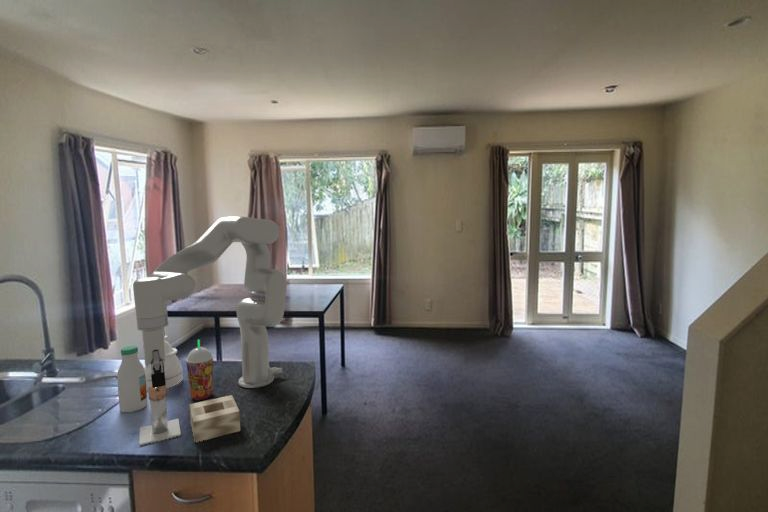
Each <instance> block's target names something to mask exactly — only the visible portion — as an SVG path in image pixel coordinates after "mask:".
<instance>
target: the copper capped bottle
mask: <svg viewBox="0 0 768 512" xmlns="http://www.w3.org/2000/svg"><path fill="white" fill-rule="evenodd" d="M147 392H148V393H147V395H148V400H149V408H150V421H151V424H150V425H152V433H153V434H161V433H164V432H166V431H167V430H168V421H169V420H168V411H167V410H168V409H167V408H168V406H167V389H166V385H165V386H161V387H156V388H153V387H152V386H150V387H149V388H148V390H147Z"/></svg>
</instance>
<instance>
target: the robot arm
mask: <svg viewBox="0 0 768 512" xmlns="http://www.w3.org/2000/svg"><path fill="white" fill-rule="evenodd" d="M279 236H280V230H279V226H278V225H277V223H276V222H275V221H273V220H272V219H265V218H264V219H263V218H256V217H250V216H222V217H220V218H218V219H217V220H215V222H213V224H211V226H209V228H208V229H206V231H205V232H203V234H202V235H201V236H200V237H199V238H198V239H197V240H196V241H195V242H194V243H192V244H191V245H189V246H186V247H184V248H183V249H182V250H179V251H178V252H176V253H174V254H172V255H171V256H169V257H168V258H166V259H165V260H164V261H162V263H160V264H159V265H158V266H157V268H155V269H154V271H152V272H151V273H150V276H146V277H141V278H138V279H135V280H134V282H133V283H132V284H133V285H132V289H133V298H134V299H133V300H134V307H135V317H136V326H137V328H136V329H137V330H138V331H141V333H142V335H141V337H142V347H143V356H144V357H143V358H144V366H145V365H146V366H148V365H150V364H151V369H152V374H151V379H152V387H153V388H156V387H161V386H165V385H166V382H165V372H164V362H165V336H166V335H165V328H166V327H168V326H169V317H168V315H169V314H168V308H167V301H174V300H182V299H186V298H189V297H190V296H192V294H193V293H194V291H195V290H196V287H197V286H196V281H195V279H194V278H193V277H192V276H191V275H190V274H188V272H190V271H193V270H196V269H198V268H203V267H206V266H209V265H211V264H213V263H215V262H217V260H218V259H219V258H220V257H221V256H222V255H223V254H224V253H225V252H226V250H228V248H229V247H230V246H231V245H232V244H233V243H241V245H242V246H243V248H244V251H245V254H246V261H245V271H244V282H243V283H244V284H243V286H244V289H245V291H246V292H247V293H249V294H253V295H260V296H261V295H263V296H265V298H262V297H261V298H260V297H246V298H243V299H241V301H239V303H238V304H237V307H236V318H237V320H238V325H239V331H240V345H241V347H240V349H241V368H242V369H241V370H242V376H241V377H240V378H238V385H239V386H240V387H242V388H246V389H257V388H261V387H265V386H267V385H270V384H271V383H273V382H274V380H275V376H274V375H275V374H281V373H283V368H282V367H277V366H274V367H270V359H269V358H270V355H269V353H270V352H269V334H268V330H267V328H266V327H277V326H278V325H280V324H281V322H282V320H283V318H284V314H285V306H286V297H287V288H288V287H287V286H288V284H287V283H288V282H287V278H286V276H285V273H283V272H282V271H281V270H279V269H274V268H271V258H272V257H271V252H270V250H269V247H268V246H267V245H269V244H273V243H274V242H276V241H277V239H278V237H279Z"/></svg>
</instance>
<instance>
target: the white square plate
mask: <svg viewBox="0 0 768 512" xmlns="http://www.w3.org/2000/svg"><path fill="white" fill-rule="evenodd" d="M181 434H182V433H181V427H180V420H179V418H175V419H170V420H168V430H167V431H166V432H164V433H161V434H153V433H152V424H149V425H145V426H141V427H139V443H138V444H139V445H143V446H145V445H144V444H147V445H149V444H148V443H151V444H153V443H152V442H154V443H157V442H156V441H158V442H162V441H166V440H170V439H174V438H177V437H176V436H178V437H181V436H182V435H181ZM180 435H181V436H180ZM173 437H174V438H173ZM169 438H170V439H169ZM165 439H166V440H165ZM161 440H162V441H161Z"/></svg>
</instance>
